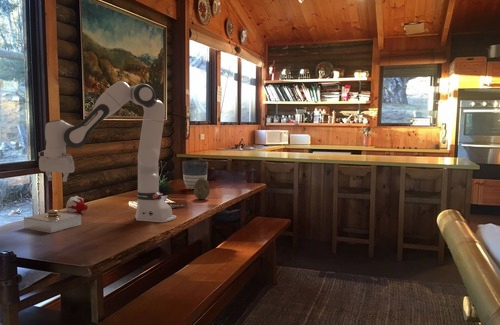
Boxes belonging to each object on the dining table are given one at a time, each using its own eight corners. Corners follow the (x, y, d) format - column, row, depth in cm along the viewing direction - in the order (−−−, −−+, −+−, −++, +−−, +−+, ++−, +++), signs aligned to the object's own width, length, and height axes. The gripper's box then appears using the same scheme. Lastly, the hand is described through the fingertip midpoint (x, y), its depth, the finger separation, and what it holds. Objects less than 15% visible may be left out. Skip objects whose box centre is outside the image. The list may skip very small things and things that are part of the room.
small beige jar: (60, 225, 207) (60, 210, 206) (52, 228, 203) (52, 211, 202) (53, 224, 209) (53, 209, 208) (46, 226, 205) (45, 210, 204)
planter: (206, 191, 316) (206, 163, 314) (180, 191, 316) (180, 162, 314) (209, 187, 335) (209, 160, 333) (184, 187, 336) (184, 160, 333)
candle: (72, 208, 245) (93, 214, 240) (58, 212, 234) (79, 218, 229) (73, 193, 243) (95, 198, 239) (59, 196, 233) (81, 202, 228)
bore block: (81, 224, 210) (81, 214, 210) (51, 232, 194) (50, 221, 193) (55, 220, 217) (54, 210, 217) (24, 228, 201) (23, 217, 201)
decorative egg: (205, 201, 277) (205, 178, 276) (190, 200, 281) (191, 177, 279) (212, 198, 288) (212, 176, 286) (197, 197, 291) (198, 176, 290)
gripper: (77, 153, 204) (78, 181, 205) (46, 152, 212) (48, 179, 214) (66, 154, 198) (68, 183, 200) (35, 152, 206) (37, 180, 208)
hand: (57, 181), depth 207 cm, fingers open, 8 cm apart
